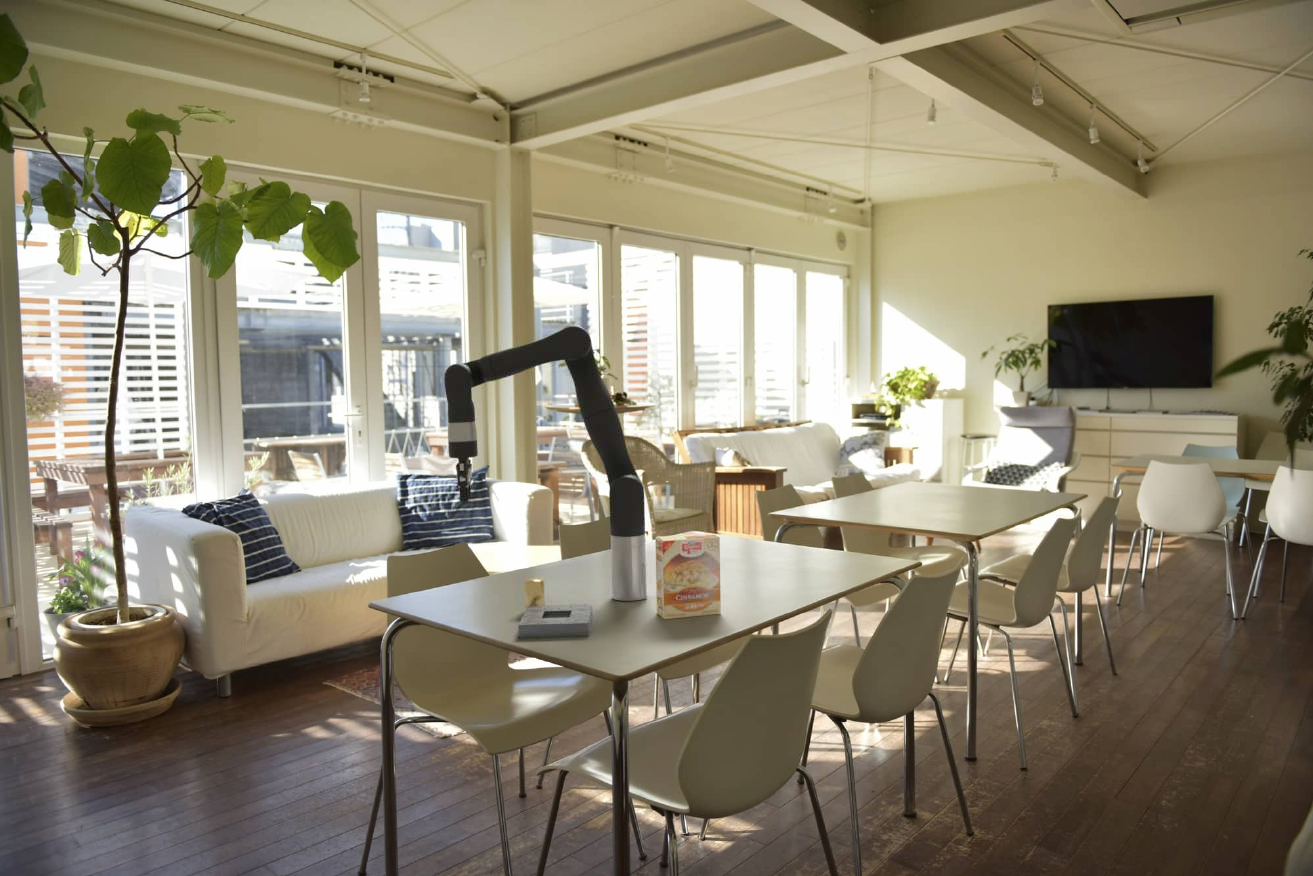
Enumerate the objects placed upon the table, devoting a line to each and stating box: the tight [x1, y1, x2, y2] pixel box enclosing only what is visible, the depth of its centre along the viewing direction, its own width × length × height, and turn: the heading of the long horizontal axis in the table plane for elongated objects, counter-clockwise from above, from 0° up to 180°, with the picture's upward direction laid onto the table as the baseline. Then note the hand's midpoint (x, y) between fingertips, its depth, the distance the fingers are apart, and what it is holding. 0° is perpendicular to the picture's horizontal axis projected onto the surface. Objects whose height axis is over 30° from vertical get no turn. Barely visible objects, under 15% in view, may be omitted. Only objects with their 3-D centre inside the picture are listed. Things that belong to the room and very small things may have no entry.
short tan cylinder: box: [524, 577, 546, 610], centre depth 236 cm, size 5×5×8 cm
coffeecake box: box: [654, 532, 722, 620], centre depth 230 cm, size 15×7×20 cm, turn 106°
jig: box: [517, 603, 594, 639], centre depth 220 cm, size 16×18×3 cm
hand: (465, 500), depth 245 cm, fingers open, 8 cm apart
